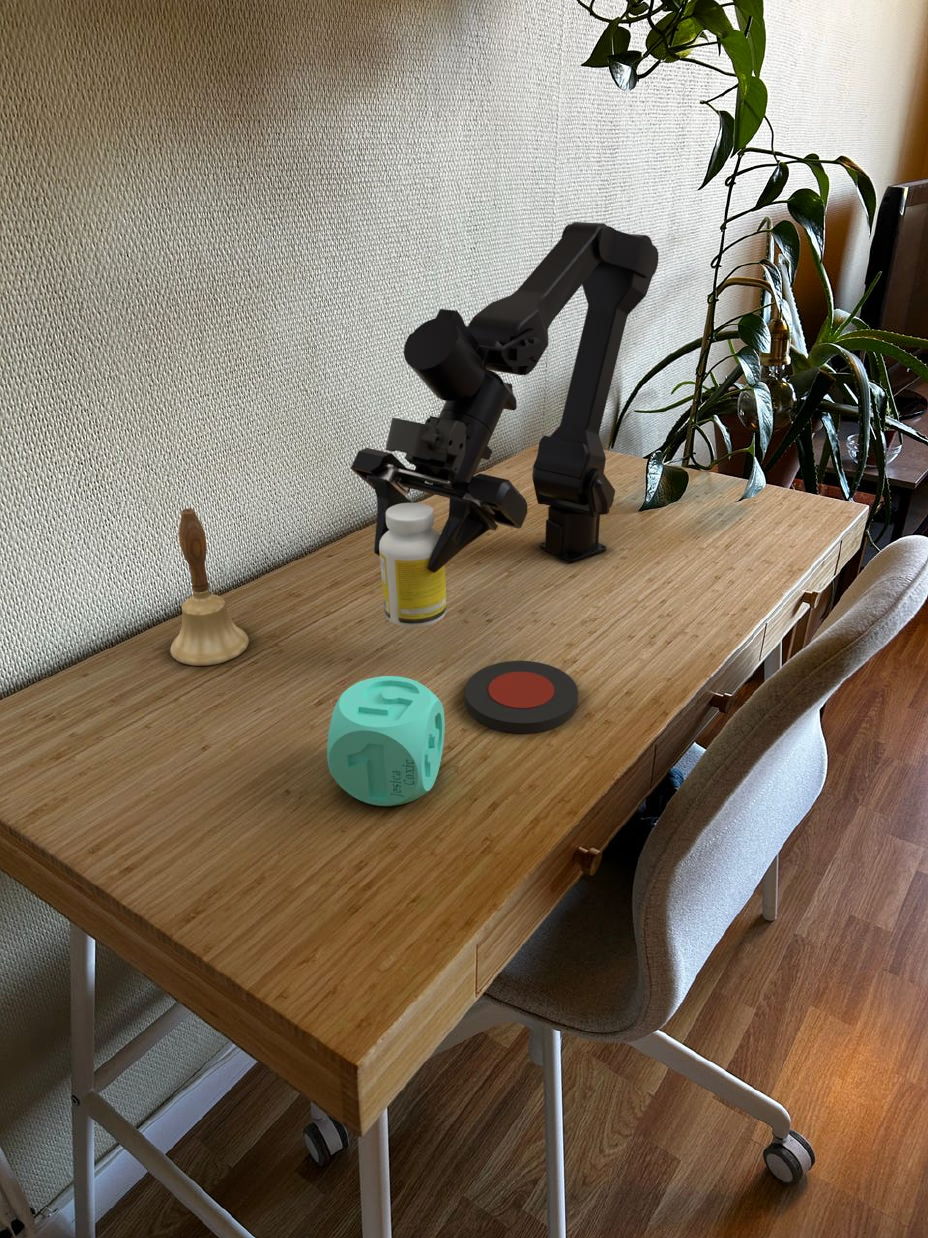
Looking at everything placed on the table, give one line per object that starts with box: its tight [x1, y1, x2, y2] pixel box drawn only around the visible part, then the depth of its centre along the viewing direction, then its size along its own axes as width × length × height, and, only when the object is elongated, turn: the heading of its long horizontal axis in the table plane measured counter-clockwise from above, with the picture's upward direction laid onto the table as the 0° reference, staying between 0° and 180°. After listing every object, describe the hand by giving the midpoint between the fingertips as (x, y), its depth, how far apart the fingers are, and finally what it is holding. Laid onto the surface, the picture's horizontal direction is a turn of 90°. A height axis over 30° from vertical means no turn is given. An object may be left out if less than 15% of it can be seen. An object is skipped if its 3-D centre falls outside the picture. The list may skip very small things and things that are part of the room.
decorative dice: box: [326, 675, 446, 807], centre depth 77 cm, size 8×8×8 cm
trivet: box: [464, 660, 579, 734], centre depth 89 cm, size 11×11×1 cm
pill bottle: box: [379, 502, 447, 629], centre depth 92 cm, size 6×6×12 cm
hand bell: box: [169, 507, 250, 667], centre depth 96 cm, size 8×8×16 cm
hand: (403, 562), depth 91 cm, fingers closed on pill bottle, 6 cm apart
